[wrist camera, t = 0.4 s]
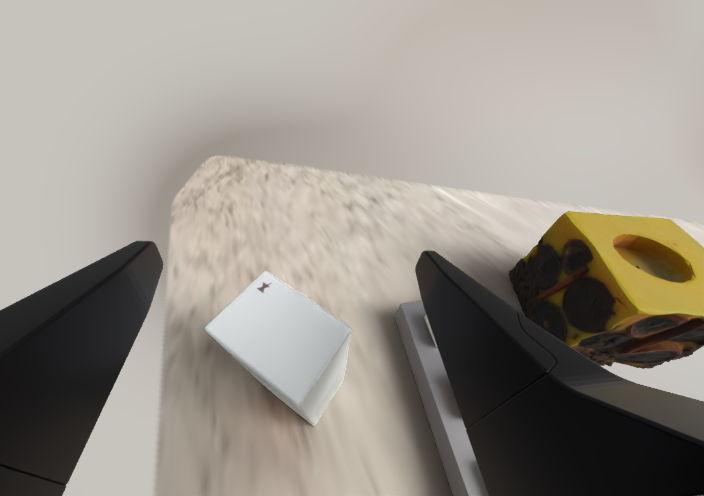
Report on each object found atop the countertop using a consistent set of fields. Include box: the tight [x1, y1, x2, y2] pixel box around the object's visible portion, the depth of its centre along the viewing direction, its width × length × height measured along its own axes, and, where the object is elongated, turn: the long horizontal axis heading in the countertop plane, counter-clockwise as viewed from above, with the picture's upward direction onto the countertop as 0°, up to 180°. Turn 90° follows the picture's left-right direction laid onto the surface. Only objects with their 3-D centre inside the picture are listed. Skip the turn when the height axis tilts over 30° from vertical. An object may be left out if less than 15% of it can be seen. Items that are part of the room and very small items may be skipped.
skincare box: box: [205, 271, 352, 426], centre depth 17 cm, size 6×4×12 cm
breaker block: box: [395, 301, 488, 496], centre depth 20 cm, size 16×7×3 cm, turn 12°
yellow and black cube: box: [509, 211, 704, 369], centre depth 23 cm, size 10×10×10 cm
